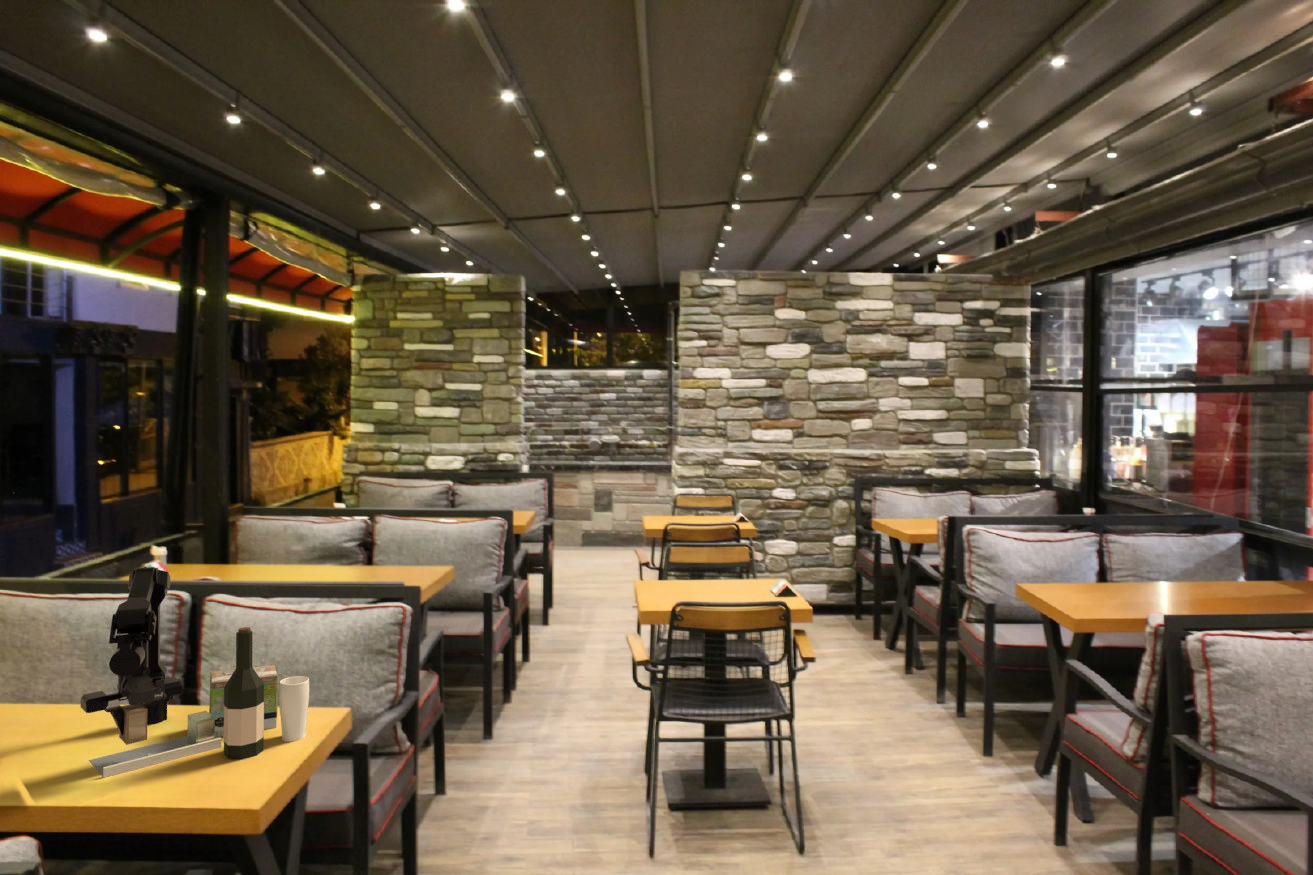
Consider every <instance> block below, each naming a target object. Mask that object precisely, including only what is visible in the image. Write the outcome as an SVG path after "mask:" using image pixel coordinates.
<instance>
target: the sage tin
mask: <svg viewBox="0 0 1313 875" xmlns="http://www.w3.org/2000/svg"><path fill="white" fill-rule="evenodd" d="M187 736H188V740H187V744H188V743H189V744H190V745H193V744H197V743H201V742H205V741H209V740H213V739H216V737H215V717H214V716H213V715H211V714H210V713H209V711H207V710H204V711H202V710H201V711H198V712H194V713H190V714H187Z"/></svg>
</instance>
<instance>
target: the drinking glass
mask: <svg viewBox="0 0 1313 875" xmlns="http://www.w3.org/2000/svg"><path fill="white" fill-rule="evenodd" d="M278 684H279V685H278V686H279V687H278V702H279V713H280V714H279V715H280V725H281V740H282V741H283V742H286V743H287V742H296V741H297V742H298V741H301V740H304V739H305V738H306V737H307V724H308V723H307V722H308V721H307V720H308V713H309V712H308V711H309V702H310V678H309V677H307V676H304V675H303V676H301V675H300V676H299V675H297V676H296V675H295V676H289V677H285V678H283V679H281V680H280V681H278Z"/></svg>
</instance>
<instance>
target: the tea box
mask: <svg viewBox="0 0 1313 875" xmlns="http://www.w3.org/2000/svg"><path fill="white" fill-rule="evenodd" d="M252 667H253V669H254V670H255V672H256V673H257V675H258V676H259V677H260V679H261V680H262V682H263V683H264V730H271V729H276V728H277V726H278V693H279V687H278V686H279V685H278V684H279V675H278V672H277V669H276V666H275V665H274V664H272V665H263V666H252ZM235 669H236V668H235ZM235 669H226V670H225V669H224V670H218V671H210V676H209V709H208V713H210V714H211V715H213V716H214V717H215V738H221V737H224V687H225V685H226V684H227V682H228V680H229V679H230V677H231V676H232V674H233V673H234V671H235Z"/></svg>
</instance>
